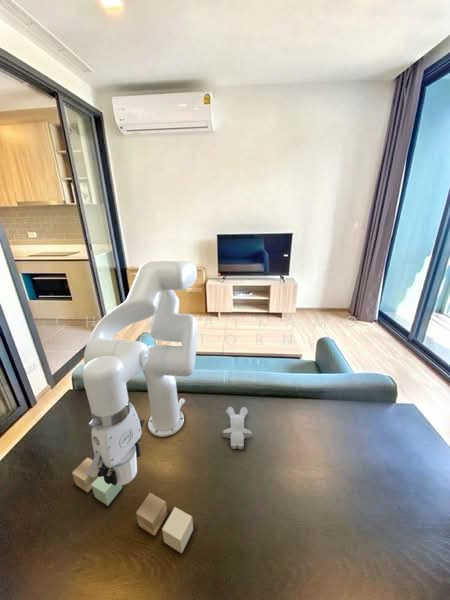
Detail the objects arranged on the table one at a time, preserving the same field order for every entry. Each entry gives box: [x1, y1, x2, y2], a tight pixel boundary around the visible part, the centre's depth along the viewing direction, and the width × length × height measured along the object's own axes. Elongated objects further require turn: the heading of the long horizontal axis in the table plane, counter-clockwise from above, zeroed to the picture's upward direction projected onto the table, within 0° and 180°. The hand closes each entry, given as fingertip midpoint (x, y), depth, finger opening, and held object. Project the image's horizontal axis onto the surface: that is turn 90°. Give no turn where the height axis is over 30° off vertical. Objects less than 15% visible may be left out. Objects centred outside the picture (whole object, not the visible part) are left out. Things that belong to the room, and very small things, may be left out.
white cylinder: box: [113, 444, 138, 486], centre depth 60 cm, size 7×7×7 cm
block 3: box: [135, 492, 168, 536], centre depth 62 cm, size 5×5×5 cm
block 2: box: [91, 476, 123, 506], centre depth 68 cm, size 5×5×5 cm
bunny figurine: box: [222, 406, 252, 450], centre depth 86 cm, size 10×5×15 cm
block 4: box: [161, 506, 194, 554], centre depth 59 cm, size 5×5×5 cm
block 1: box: [71, 457, 100, 493], centre depth 71 cm, size 5×5×5 cm
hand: (123, 467), depth 61 cm, fingers closed on white cylinder, 6 cm apart
